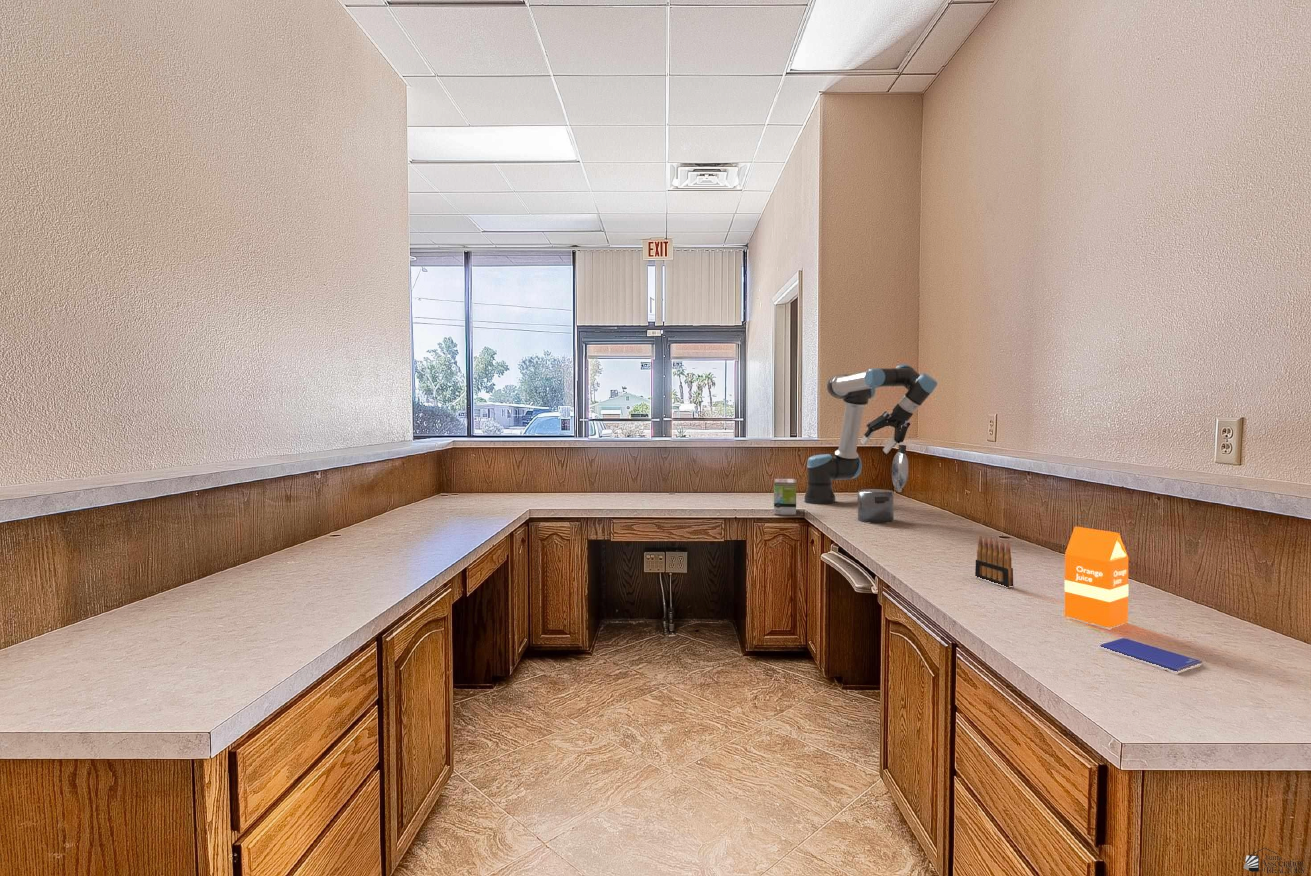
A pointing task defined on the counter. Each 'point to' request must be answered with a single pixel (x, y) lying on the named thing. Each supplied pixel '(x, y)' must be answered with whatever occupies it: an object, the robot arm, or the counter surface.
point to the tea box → (785, 496)
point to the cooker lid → (900, 469)
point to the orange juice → (1096, 577)
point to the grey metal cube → (875, 505)
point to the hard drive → (1151, 654)
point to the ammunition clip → (994, 562)
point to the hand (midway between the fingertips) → (873, 447)
